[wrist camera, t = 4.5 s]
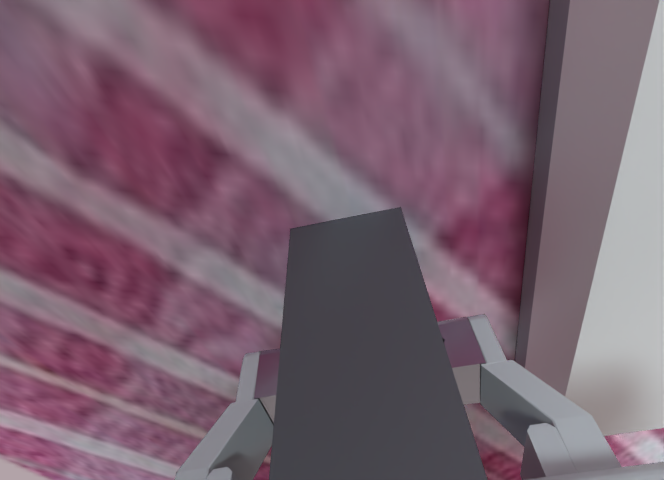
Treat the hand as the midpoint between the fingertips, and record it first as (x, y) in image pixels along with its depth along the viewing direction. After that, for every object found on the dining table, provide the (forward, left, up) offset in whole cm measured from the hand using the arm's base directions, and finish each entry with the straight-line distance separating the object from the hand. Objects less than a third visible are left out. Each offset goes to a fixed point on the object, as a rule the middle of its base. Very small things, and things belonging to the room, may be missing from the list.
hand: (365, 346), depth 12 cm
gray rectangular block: (0, 0, -4) cm, 4 cm away
